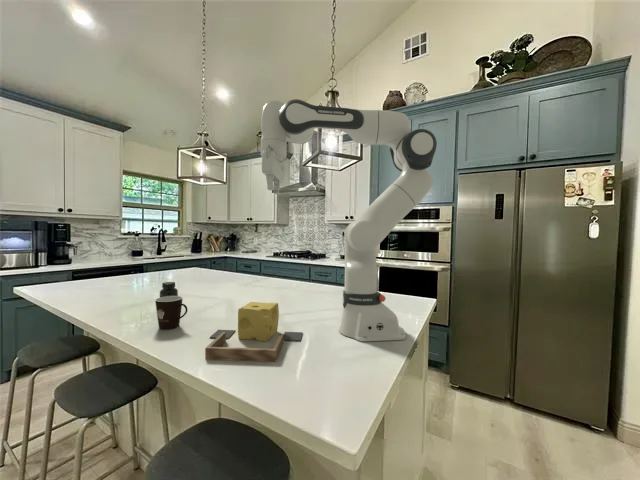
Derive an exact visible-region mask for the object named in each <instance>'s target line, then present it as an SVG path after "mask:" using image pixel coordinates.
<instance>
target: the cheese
mask: <svg viewBox="0 0 640 480" xmlns="http://www.w3.org/2000/svg"><path fill="white" fill-rule="evenodd" d="M237 312H238V313H237V336H238V337H237V338H238V339H239V340H256V341H260V342H265V343H266V342H268V341H269V340H270V339H271V338H272V337H273V336H274V335H275V334H276V333H277V332H278V326H279V320H280V319H279V317H280V315H279V314H280V311H279V303H278V302H257V301H250V302H248V303H247V304H245V305H244V306H241V307H239V308H238V311H237Z"/></svg>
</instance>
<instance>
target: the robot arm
mask: <svg viewBox="0 0 640 480" xmlns="http://www.w3.org/2000/svg"><path fill="white" fill-rule="evenodd" d="M410 123H411V122H410V119H409V117H408V115H407V114H405V113H403V112H398V111H395V110H394V111H393V110H383V109H382V110H381V109H355V108H348V107H337V106H324V105H314V104H310V103H308V102H306V101H304V100H302V99H297V98H294V99H291V100H288V101H286V102H285V103H284V102H282V101H279V100H275V101H274V100H272V101H269V102H267V103H265V105H264V106H263V108H262V113H261V119H260V130H261V139H260V157H261V172H262V173H261V174H263V175H264V176H265V178H266V184H267V185H266V186H267V190H268V191H272V192H273V194H274V195H279V193H280V185H281V184H282V183H283V182H284V179H285V170H286V163H287V162H288V161H287V160H288V159H287V158H288V157H287V156H288V154H287V152H288V151H287V147H288V143H287V142H289V143H293V144H298V145H302V144H306V143H309V142H310V141H311V140H312V138H313V136H314V133H315V129H323V130H324V129H325V130H327V129H328V130H339V131H342V132H343V133H346V135H348V136H349V137H350V138H351V140H352V141H354V142H355V143H356V144H361V145H365V146H388V147H389V152H390V155H391V159H392V163H393V165H394V167H395V168H396V170H398V171H399V172H401V173H400V175H399V176H398V177H397V178H396V179H395V180H394V182H392V183H391V184H390V185H389V186H388V187H387V188H386V189H385V190H384V191H383V192H382V193H380V195H379V196H378V197H377V198H375V199H374V201H373V202H371V203H370V205H369V206H368V207H367V208H365V210H364V211H363V212H361V214H359V216H357V218H355V220H353V221H352V222H350V223H348V225H347V227H346V228H345V231H344V289H343V290H342V308H343V309H342V310H343V311H342V315H341V316H342V317H341V321H340V325H339V329H338V332H339V333H340V334H341V335H343V336H345V337H348V338H352V339H355V340H357V341H358V342H378V341H381V342H382V341H403V340H405V339H406V337H407V333H406V331H405V329H404V328H403V327H402V326H400V324H399V320H398V316H397V315H396V314H395V312H394V311H393V310H391V309H390V308H389V307H388V306H386V305H385V304H384V303H383V302H385V301H386V296H385V295H384V294H382V293H380V292H379V291H377V288H378V283H377V282H378V267H377V253H376V248H377V247H378V246H380V244H381V243H382V242H383V241H384V240H385V238H387V236H388V235H389V234H390V233H391V232H392V231H393V230H394V228H395V227H396V226H397V225H398V224H399V222H401V221H402V220H403V219H404V218H405V217H406V216H407V215H408V214H409V213H410V212H411V211H413V209H414V208H416V206H417V205H419V203H421V201H422V200H423V199H424V198H425V196H426V195H427V194H428V193H429V191H431V188H432V187H433V183H434V180H433V177H432V175H431V174H430V172H429V171H428V168H430V167H431V165H432V162H433V159H434V156H435V153H436V151H437V145H438V144H437V143H438V142H437V138H436V136H435V134H434V133H432V131H431V130H428V129H425V128H419V129H415V130H414V129H413V130H412V131H411V124H410Z"/></svg>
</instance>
